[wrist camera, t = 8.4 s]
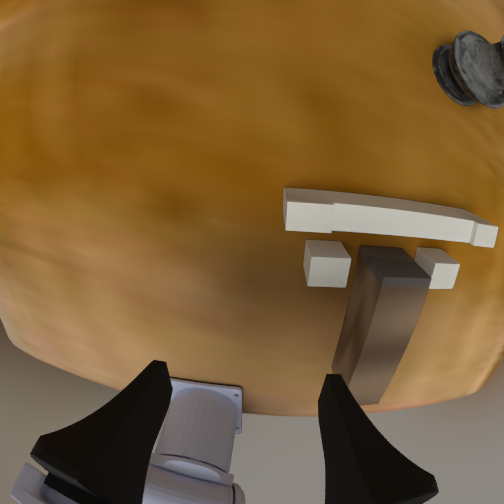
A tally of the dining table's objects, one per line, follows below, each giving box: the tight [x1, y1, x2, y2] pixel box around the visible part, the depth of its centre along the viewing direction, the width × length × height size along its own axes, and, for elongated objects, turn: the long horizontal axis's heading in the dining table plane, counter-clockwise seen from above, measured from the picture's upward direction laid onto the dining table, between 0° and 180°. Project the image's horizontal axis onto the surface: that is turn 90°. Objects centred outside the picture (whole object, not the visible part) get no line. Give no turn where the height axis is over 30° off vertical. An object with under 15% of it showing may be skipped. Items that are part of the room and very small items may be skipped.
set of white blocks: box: [283, 188, 498, 289], centre depth 16 cm, size 6×15×4 cm, turn 88°
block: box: [332, 245, 432, 406], centre depth 19 cm, size 12×4×5 cm, turn 178°
